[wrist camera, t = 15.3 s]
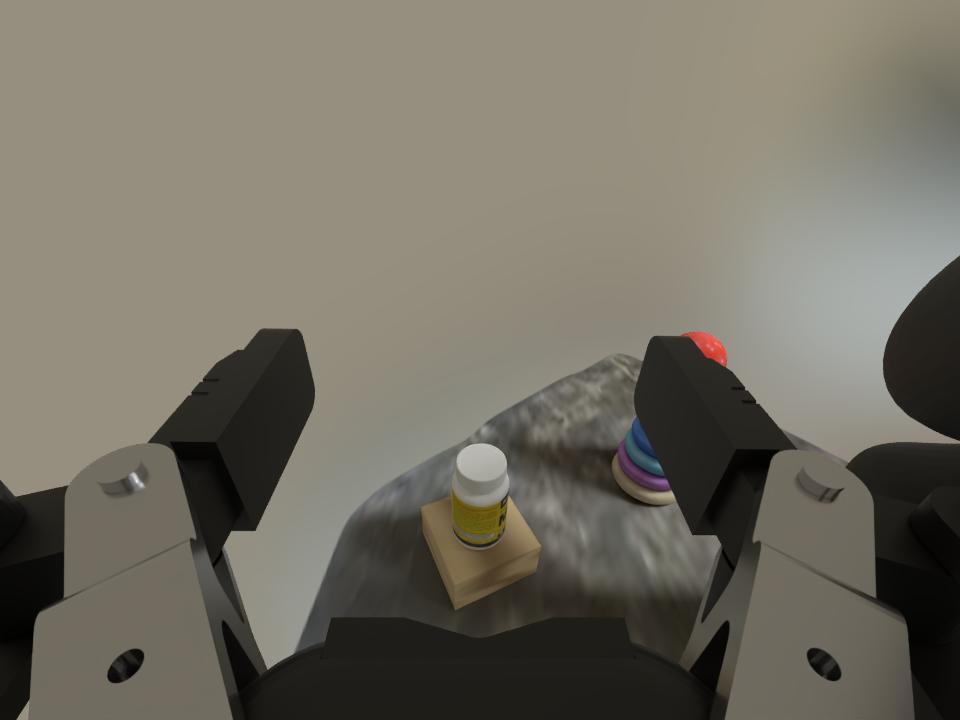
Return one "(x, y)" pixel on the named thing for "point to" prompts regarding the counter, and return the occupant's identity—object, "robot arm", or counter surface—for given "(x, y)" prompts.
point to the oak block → (478, 554)
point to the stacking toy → (636, 455)
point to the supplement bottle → (480, 496)
